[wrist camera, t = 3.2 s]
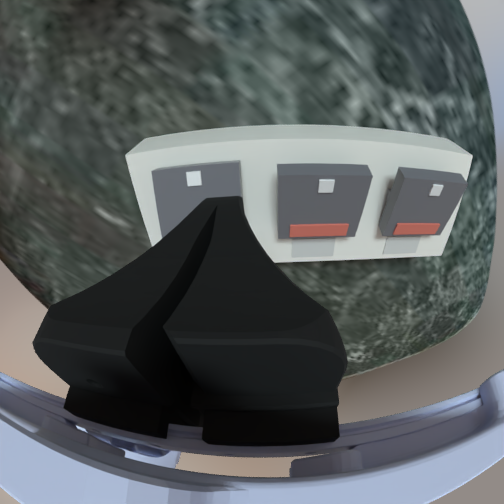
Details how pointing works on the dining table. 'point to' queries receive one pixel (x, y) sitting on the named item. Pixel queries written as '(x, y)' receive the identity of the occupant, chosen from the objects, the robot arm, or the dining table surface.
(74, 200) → the dining table surface
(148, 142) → the power strip
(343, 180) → the rocker
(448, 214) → the rocker
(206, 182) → the rocker
